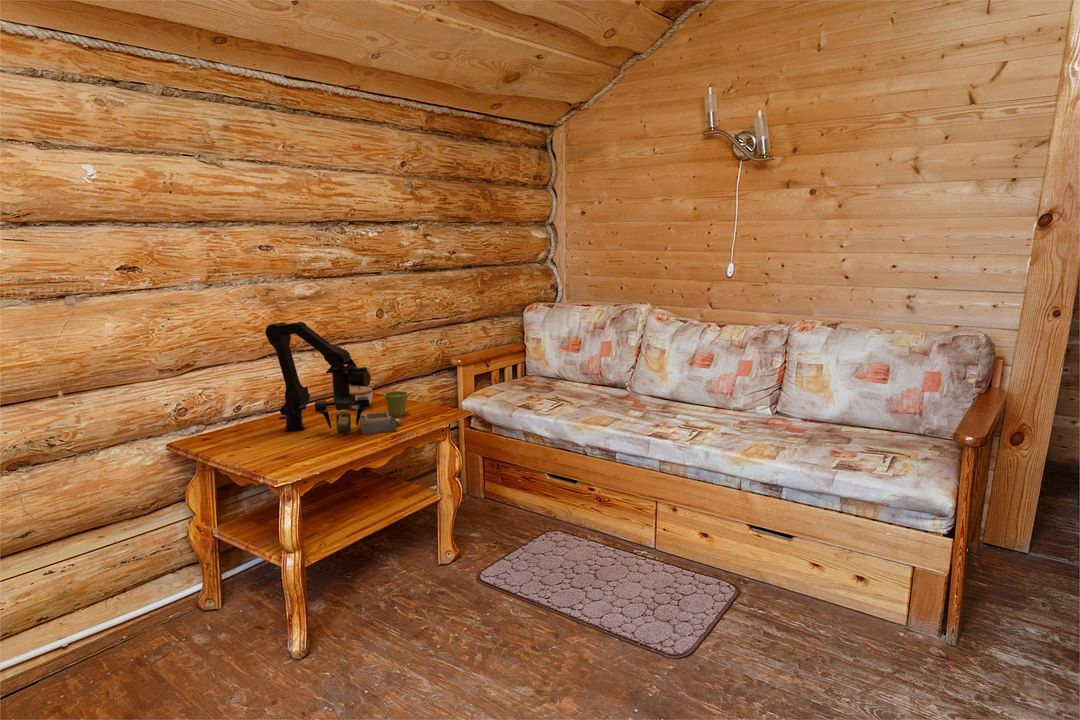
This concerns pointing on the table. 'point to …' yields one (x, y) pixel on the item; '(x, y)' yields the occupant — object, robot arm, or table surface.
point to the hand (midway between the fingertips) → (343, 426)
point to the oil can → (343, 422)
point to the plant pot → (396, 402)
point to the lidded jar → (361, 393)
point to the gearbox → (378, 422)
